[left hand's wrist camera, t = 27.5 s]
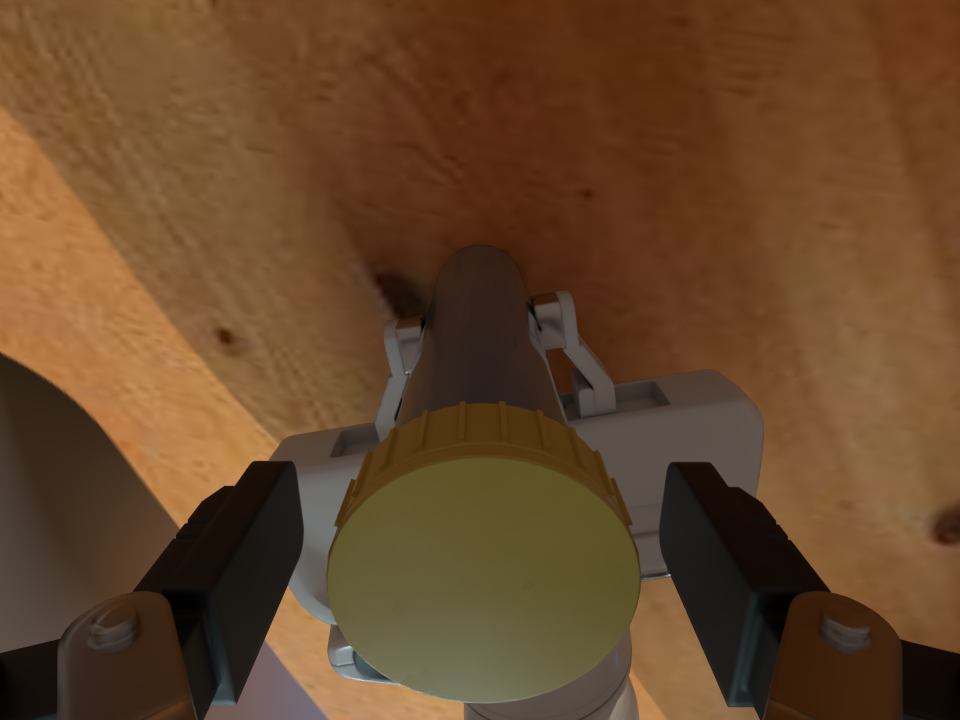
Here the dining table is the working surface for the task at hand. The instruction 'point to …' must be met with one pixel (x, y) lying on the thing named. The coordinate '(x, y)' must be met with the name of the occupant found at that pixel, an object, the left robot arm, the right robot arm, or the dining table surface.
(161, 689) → the left robot arm
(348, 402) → the dining table surface
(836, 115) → the dining table surface
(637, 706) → the right robot arm
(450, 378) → the grey canister
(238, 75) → the dining table surface
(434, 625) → the lid
